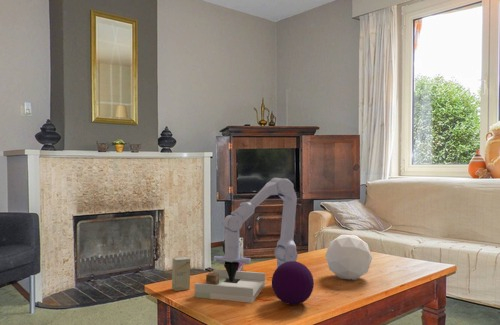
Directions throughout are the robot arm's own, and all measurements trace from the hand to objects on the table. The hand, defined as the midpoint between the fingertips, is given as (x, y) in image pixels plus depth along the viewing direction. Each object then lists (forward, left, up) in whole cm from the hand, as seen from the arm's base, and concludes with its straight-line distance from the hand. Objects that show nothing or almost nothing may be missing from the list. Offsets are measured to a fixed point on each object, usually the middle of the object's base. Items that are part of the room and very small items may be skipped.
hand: (231, 281), depth 163 cm
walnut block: (+8, 0, -2) cm, 8 cm away
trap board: (0, 0, -4) cm, 4 cm away
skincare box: (+20, +3, -4) cm, 21 cm away
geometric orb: (-44, -31, -4) cm, 54 cm away
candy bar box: (+4, -19, -4) cm, 20 cm away
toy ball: (-25, +8, -4) cm, 27 cm away
